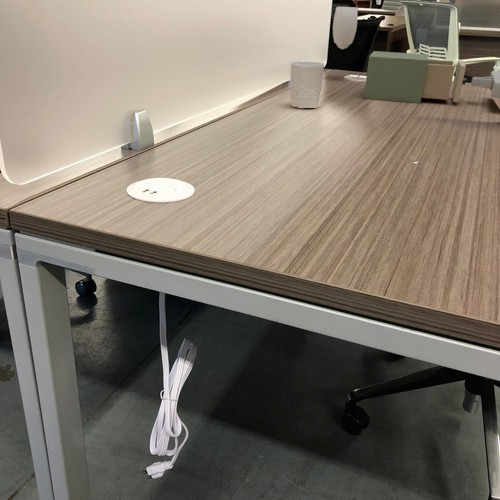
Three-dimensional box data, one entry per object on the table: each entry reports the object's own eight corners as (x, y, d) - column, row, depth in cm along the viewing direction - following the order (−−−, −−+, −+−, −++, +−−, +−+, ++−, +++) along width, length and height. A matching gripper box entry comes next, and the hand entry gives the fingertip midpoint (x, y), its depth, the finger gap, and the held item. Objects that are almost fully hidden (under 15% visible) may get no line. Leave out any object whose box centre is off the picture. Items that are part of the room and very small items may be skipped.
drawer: (460, 94, 138) (467, 60, 134) (463, 102, 129) (471, 66, 125) (405, 90, 142) (410, 57, 138) (403, 97, 132) (409, 62, 128)
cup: (326, 80, 159) (333, 7, 149) (329, 76, 165) (335, 6, 156) (349, 81, 158) (358, 8, 148) (351, 78, 164) (359, 7, 154)
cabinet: (420, 94, 142) (428, 54, 137) (420, 103, 131) (428, 60, 126) (368, 90, 146) (373, 51, 141) (363, 98, 135) (369, 56, 130)
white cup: (283, 103, 126) (285, 61, 121) (311, 102, 128) (314, 60, 124) (296, 110, 119) (299, 66, 115) (326, 109, 122) (330, 65, 117)
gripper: (529, 67, 134) (473, 63, 138) (539, 78, 117) (475, 73, 121) (523, 92, 137) (468, 87, 141) (531, 106, 120) (469, 100, 124)
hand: (471, 81), depth 131 cm, fingers closed
